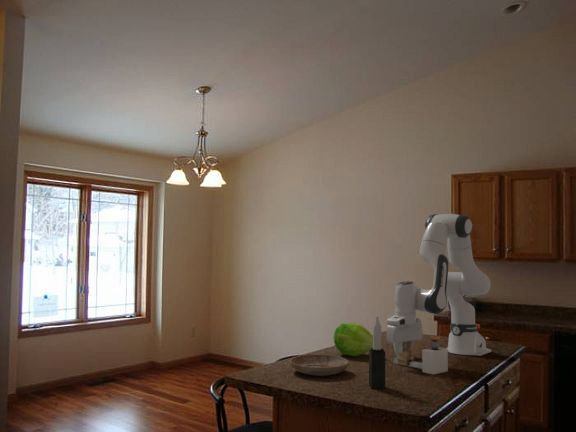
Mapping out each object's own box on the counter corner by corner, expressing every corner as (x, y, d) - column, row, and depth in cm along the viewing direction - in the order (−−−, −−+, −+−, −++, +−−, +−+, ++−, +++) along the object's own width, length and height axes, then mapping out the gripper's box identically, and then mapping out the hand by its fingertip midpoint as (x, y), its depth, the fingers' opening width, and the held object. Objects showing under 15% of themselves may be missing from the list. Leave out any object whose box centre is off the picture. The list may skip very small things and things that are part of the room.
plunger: (433, 350, 213) (433, 336, 214) (442, 352, 210) (442, 337, 210) (427, 351, 211) (427, 337, 211) (436, 353, 208) (436, 338, 208)
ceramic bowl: (280, 368, 212) (280, 356, 212) (331, 364, 221) (331, 352, 221) (304, 382, 190) (304, 368, 191) (359, 377, 200) (359, 364, 200)
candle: (368, 385, 186) (368, 315, 188) (382, 385, 187) (382, 315, 189) (371, 389, 181) (372, 317, 183) (386, 389, 182) (386, 317, 184)
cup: (410, 358, 235) (410, 336, 236) (392, 357, 237) (392, 335, 237) (410, 355, 243) (410, 333, 244) (392, 354, 245) (392, 333, 245)
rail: (396, 362, 227) (396, 357, 227) (431, 370, 212) (431, 365, 212) (393, 362, 226) (393, 358, 226) (428, 370, 211) (428, 365, 211)
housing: (437, 368, 215) (437, 347, 215) (447, 371, 211) (447, 348, 212) (422, 372, 209) (422, 349, 209) (432, 374, 205) (432, 351, 205)
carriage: (404, 362, 225) (404, 341, 226) (413, 364, 221) (413, 342, 222) (397, 363, 222) (397, 342, 223) (406, 365, 218) (406, 343, 219)
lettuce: (367, 365, 229) (369, 332, 228) (326, 356, 239) (327, 324, 238) (379, 355, 244) (381, 324, 243) (340, 346, 254) (342, 316, 252)
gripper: (414, 316, 232) (415, 348, 231) (384, 320, 219) (384, 353, 218) (426, 318, 227) (426, 350, 226) (395, 321, 214) (395, 355, 213)
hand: (405, 351), depth 222 cm, fingers closed on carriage, 4 cm apart
